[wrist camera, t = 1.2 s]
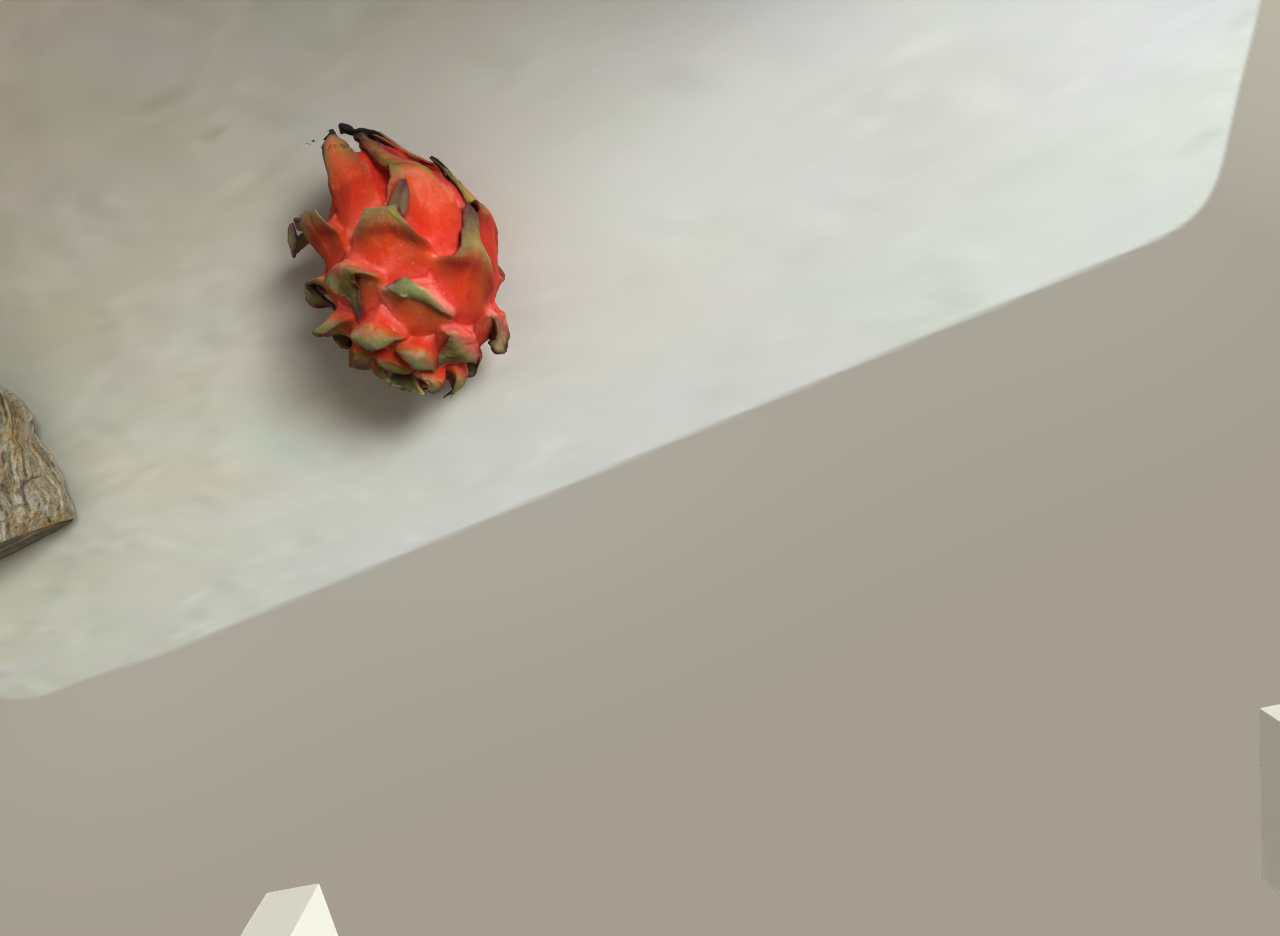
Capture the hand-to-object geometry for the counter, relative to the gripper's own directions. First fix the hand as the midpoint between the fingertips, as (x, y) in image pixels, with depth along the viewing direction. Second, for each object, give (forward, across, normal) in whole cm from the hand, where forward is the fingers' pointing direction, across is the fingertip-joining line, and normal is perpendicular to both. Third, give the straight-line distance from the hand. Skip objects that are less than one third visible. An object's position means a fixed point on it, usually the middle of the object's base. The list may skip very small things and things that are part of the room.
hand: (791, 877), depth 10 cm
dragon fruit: (+28, -10, +12) cm, 31 cm away
